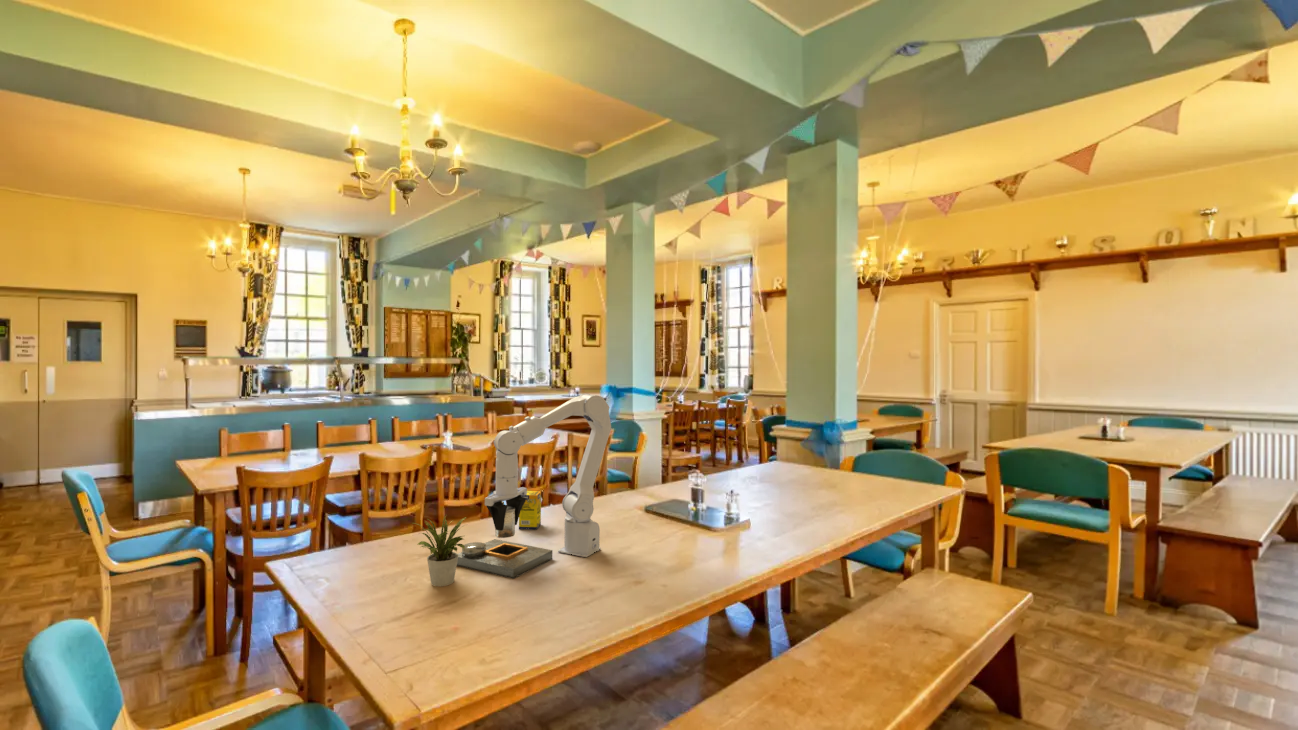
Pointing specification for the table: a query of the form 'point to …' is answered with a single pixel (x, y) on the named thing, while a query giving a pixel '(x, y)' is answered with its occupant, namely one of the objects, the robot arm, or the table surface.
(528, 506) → the supplement box
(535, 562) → the grey block with opening
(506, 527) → the spout can
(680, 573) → the table surface
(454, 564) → the house plant
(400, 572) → the table surface
